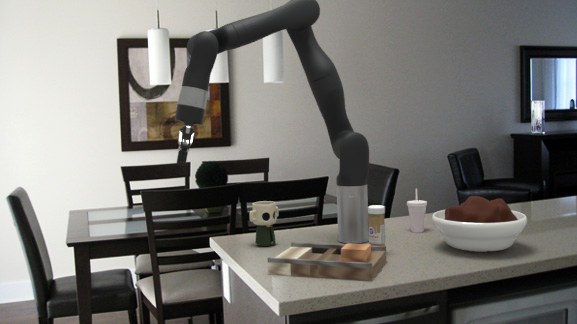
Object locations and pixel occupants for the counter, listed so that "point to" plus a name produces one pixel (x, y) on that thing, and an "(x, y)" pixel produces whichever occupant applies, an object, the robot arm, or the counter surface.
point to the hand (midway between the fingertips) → (180, 164)
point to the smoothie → (417, 214)
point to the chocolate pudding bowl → (479, 225)
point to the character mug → (264, 221)
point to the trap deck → (325, 262)
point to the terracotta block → (356, 253)
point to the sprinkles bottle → (376, 225)
